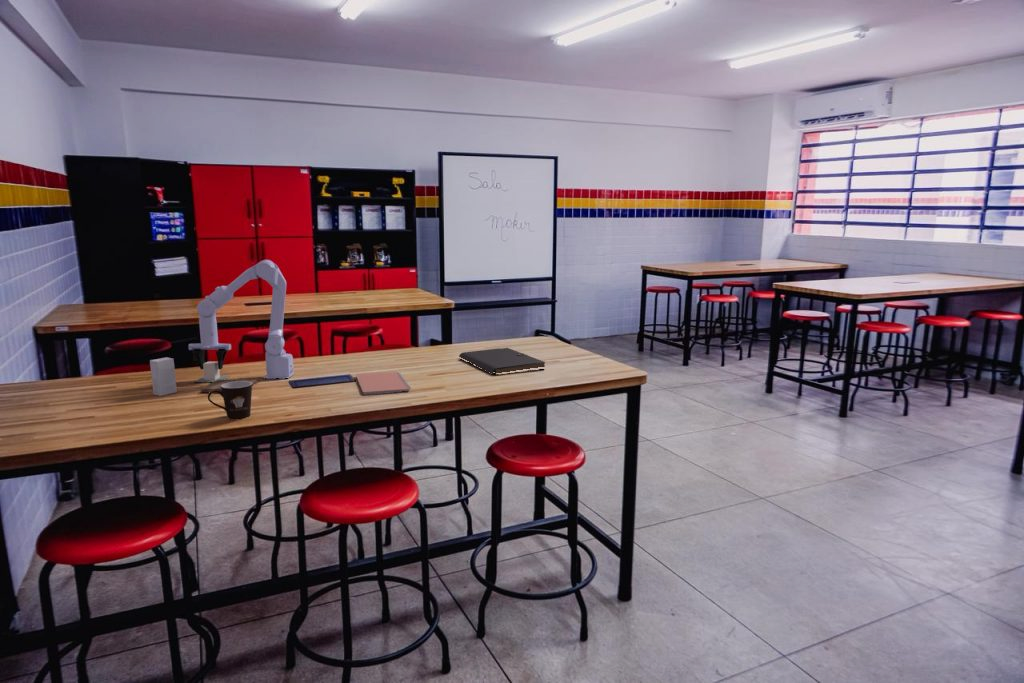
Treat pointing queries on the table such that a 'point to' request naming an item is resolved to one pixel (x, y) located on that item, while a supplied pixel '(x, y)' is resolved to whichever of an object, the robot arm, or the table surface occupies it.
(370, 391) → the notebook
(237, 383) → the coffee mug
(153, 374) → the skincare box
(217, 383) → the puzzle board
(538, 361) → the dark hardcover book
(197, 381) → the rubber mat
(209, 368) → the cream block
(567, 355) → the table surface
